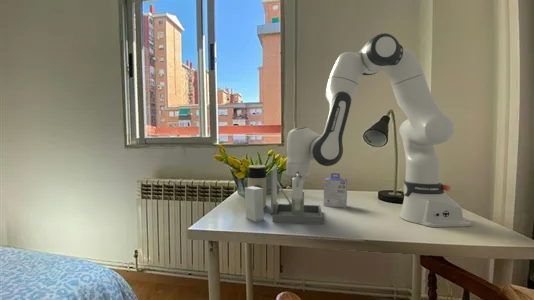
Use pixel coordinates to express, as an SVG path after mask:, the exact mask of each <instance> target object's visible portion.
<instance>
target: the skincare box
mask: <svg viewBox="0 0 534 300" xmlns="http://www.w3.org/2000/svg"><path fill="white" fill-rule="evenodd" d="M244 199H245V202H244V205H245V206H244V207H245V219H248V220H250V221H252V222H259V221H264V219H265V217H264V213H265V212H264V207H263V188H259V187H254V186H251V187H248V186H246V187H244Z"/></svg>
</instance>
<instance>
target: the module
mask: <svg viewBox="0 0 534 300" xmlns="http://www.w3.org/2000/svg"><path fill="white" fill-rule="evenodd" d="M291 203H292V215H303V216H304V205H305V191H303V198H302V200H300V210H295V202H294V200H293V199H292V198H291Z"/></svg>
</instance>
